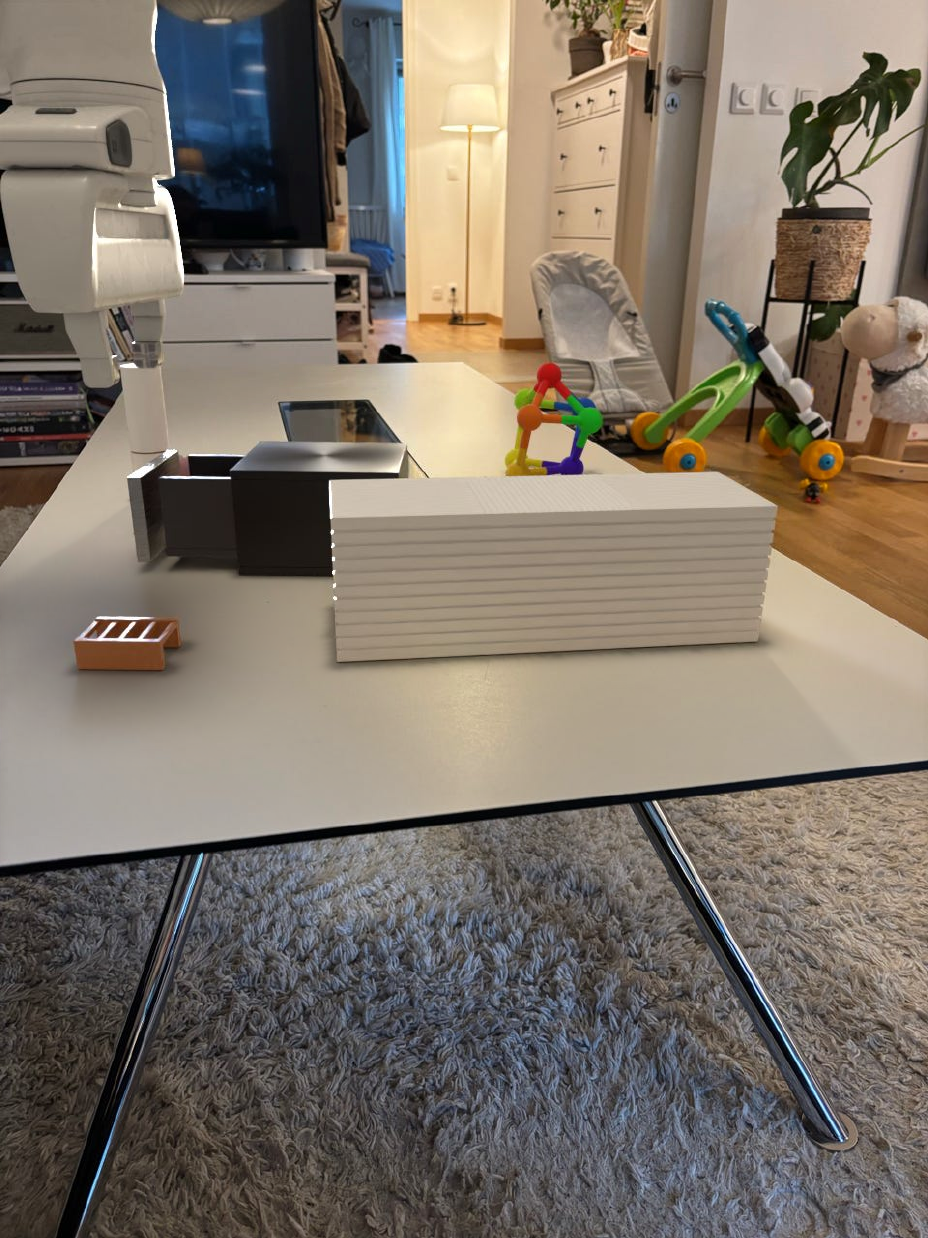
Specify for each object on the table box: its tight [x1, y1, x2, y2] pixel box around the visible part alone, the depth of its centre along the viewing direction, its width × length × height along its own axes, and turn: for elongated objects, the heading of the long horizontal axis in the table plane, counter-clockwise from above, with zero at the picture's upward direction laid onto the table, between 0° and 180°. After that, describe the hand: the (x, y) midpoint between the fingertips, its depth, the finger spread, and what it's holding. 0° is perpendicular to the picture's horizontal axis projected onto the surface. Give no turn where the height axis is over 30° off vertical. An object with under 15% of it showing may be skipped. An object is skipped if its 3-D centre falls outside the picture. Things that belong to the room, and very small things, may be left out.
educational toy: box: [504, 362, 604, 476], centre depth 115 cm, size 16×13×15 cm
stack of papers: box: [329, 471, 779, 663], centre depth 70 cm, size 32×11×11 cm, turn 98°
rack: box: [72, 616, 182, 671], centre depth 65 cm, size 6×4×2 cm
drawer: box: [126, 449, 246, 563], centre depth 86 cm, size 15×11×8 cm
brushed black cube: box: [230, 440, 408, 577], centre depth 86 cm, size 15×13×10 cm
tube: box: [119, 363, 170, 474], centre depth 103 cm, size 4×4×15 cm
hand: (128, 376), depth 61 cm, fingers open, 8 cm apart
